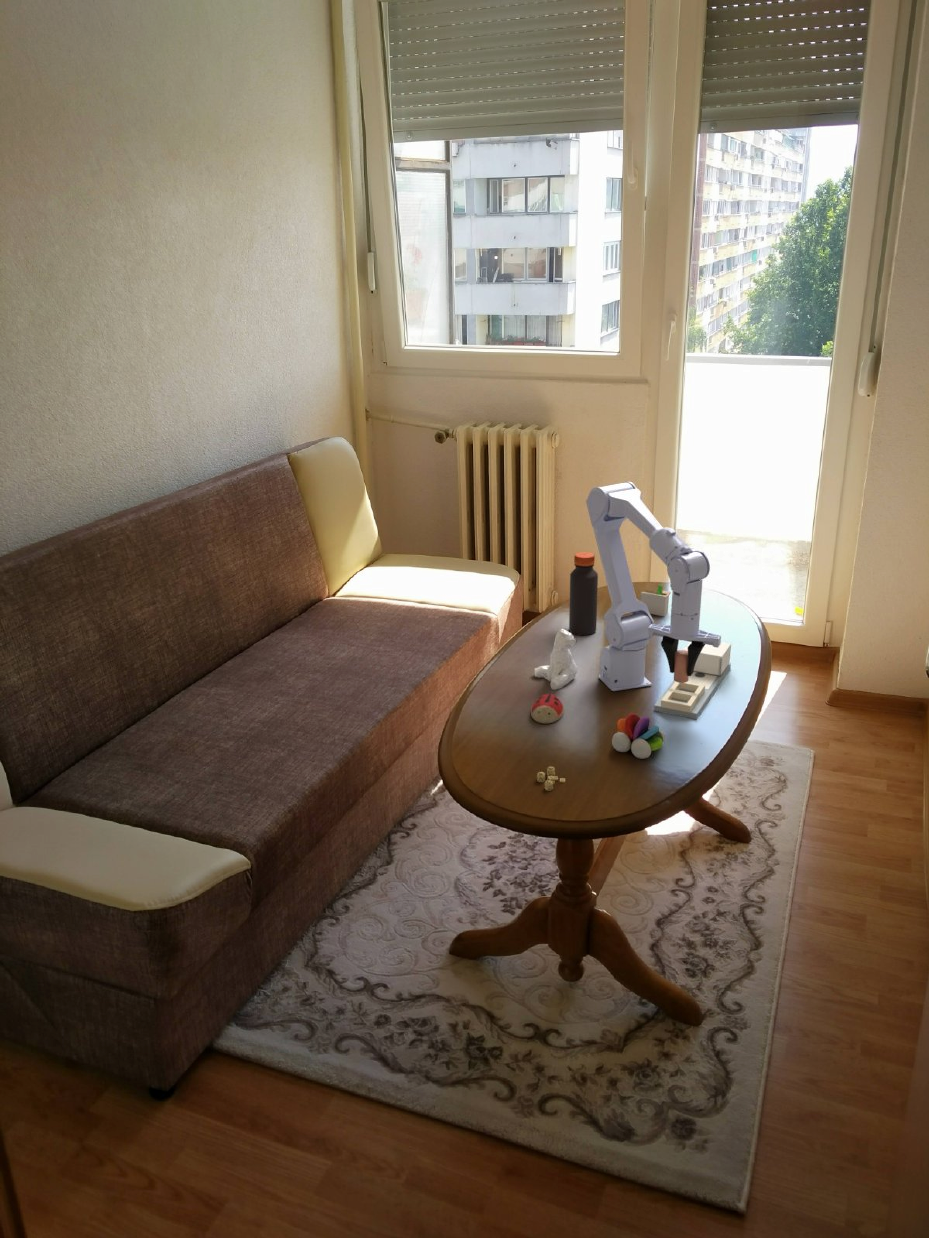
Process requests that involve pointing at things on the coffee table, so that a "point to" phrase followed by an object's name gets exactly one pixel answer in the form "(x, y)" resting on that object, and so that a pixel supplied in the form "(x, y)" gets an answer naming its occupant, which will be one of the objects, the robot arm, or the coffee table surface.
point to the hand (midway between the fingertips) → (681, 672)
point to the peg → (681, 666)
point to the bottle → (583, 595)
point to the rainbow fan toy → (637, 736)
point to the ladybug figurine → (547, 709)
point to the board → (690, 694)
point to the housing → (713, 659)
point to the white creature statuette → (559, 662)
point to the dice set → (549, 778)
